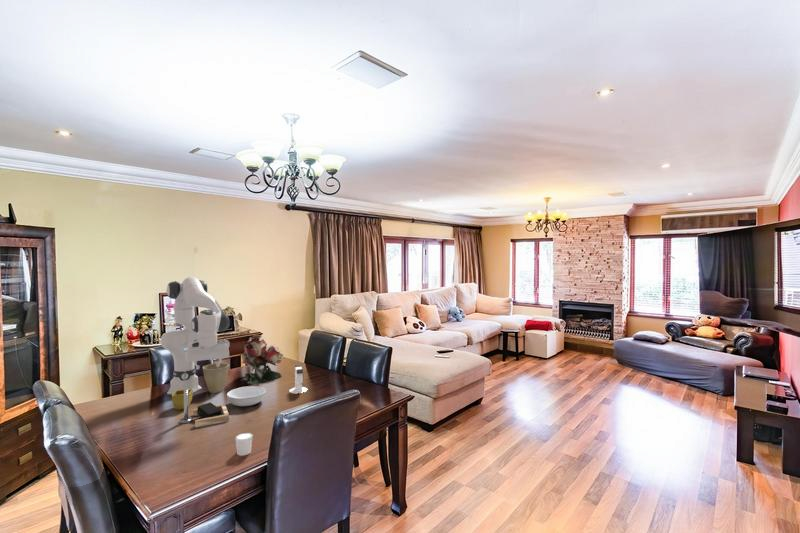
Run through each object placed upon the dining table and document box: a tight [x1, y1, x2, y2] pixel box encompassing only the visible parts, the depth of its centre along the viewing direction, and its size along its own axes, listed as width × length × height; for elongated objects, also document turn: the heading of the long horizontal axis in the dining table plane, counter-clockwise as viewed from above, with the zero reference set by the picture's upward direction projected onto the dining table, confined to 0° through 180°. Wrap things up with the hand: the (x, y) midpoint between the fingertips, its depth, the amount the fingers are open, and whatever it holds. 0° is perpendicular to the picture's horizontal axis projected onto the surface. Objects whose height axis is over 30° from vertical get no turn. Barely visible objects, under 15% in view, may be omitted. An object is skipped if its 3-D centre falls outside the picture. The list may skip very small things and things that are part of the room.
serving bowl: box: [226, 385, 267, 407], centre depth 221 cm, size 21×21×7 cm
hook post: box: [178, 390, 194, 425], centre depth 194 cm, size 10×6×16 cm, turn 31°
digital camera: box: [197, 402, 222, 419], centre depth 200 cm, size 10×5×7 cm
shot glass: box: [235, 432, 254, 456], centre depth 165 cm, size 7×7×7 cm
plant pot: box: [202, 362, 230, 394], centre depth 241 cm, size 15×15×16 cm
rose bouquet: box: [241, 334, 284, 386], centre depth 270 cm, size 26×29×30 cm
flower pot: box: [171, 389, 194, 411], centre depth 213 cm, size 9×9×9 cm
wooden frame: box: [192, 403, 230, 428], centre depth 200 cm, size 18×16×3 cm
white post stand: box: [289, 364, 309, 395], centre depth 242 cm, size 12×11×15 cm
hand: (208, 367), depth 199 cm, fingers open, 8 cm apart
